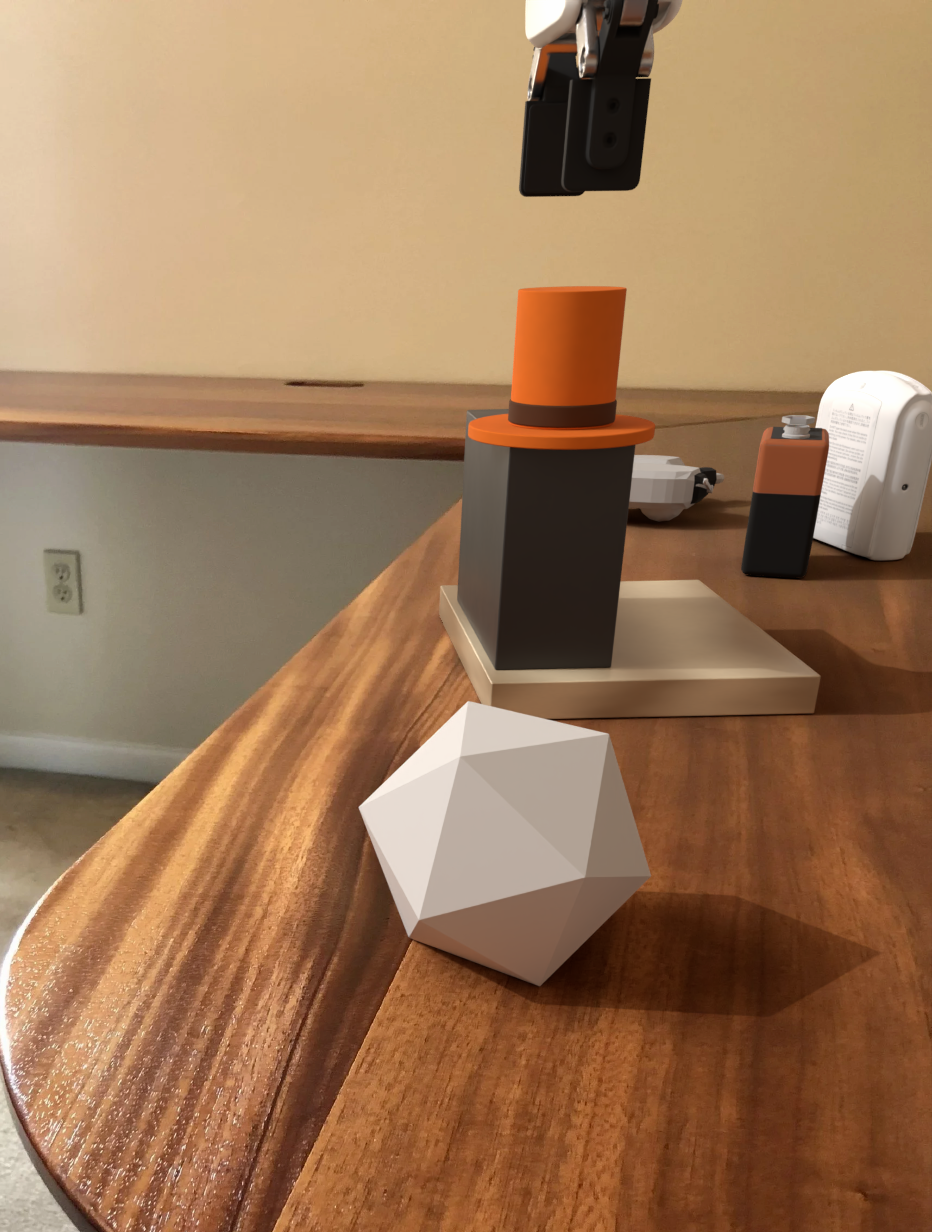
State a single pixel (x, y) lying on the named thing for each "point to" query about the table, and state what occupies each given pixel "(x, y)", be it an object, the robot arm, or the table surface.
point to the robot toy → (668, 485)
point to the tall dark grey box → (543, 551)
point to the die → (507, 839)
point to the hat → (565, 374)
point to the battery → (785, 499)
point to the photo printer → (874, 463)
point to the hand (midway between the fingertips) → (573, 193)
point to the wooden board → (651, 662)
